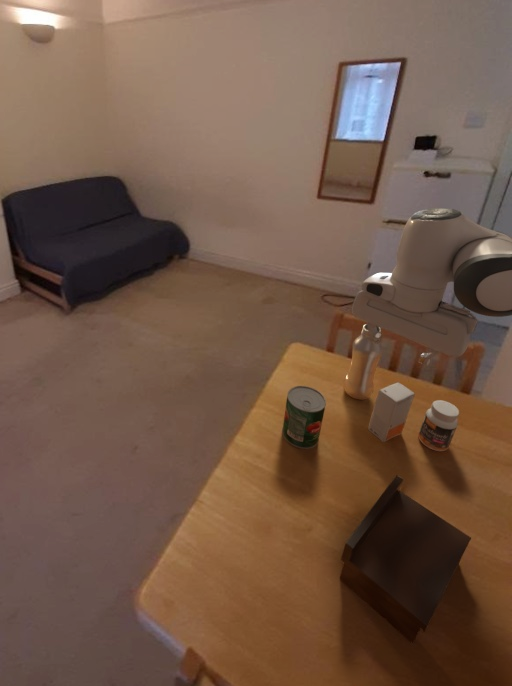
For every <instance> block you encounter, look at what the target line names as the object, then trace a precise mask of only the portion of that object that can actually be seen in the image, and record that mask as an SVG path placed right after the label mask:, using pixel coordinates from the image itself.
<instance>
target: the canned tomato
mask: <svg viewBox="0 0 512 686" xmlns="http://www.w3.org/2000/svg"><path fill="white" fill-rule="evenodd" d="M326 405H327V400H326V398H325V396H324V395H323V394H322V393H321V392H320V391H319V390H317V389H315V388H313V387H311V386H306V385H296V386H293V387H291V388H290V389H289V390H288V391H287V393H286V402H285V410H284V417H283V423H282V429H281V432H282V433H281V434H282V436H283V438H284V440H285V441H286V442H287V443H288V444H290V445H291V446H293V447H295V448H298V449H302V450H303V449H304V450H306V449H308V450H309V449H312V448H314V447H316V446H317V445H318V443H319V440H320V434H321V429H322V425H323V420H324V414H325V410H326Z"/></svg>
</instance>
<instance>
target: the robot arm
mask: <svg viewBox="0 0 512 686" xmlns="http://www.w3.org/2000/svg"><path fill="white" fill-rule="evenodd" d="M450 282H453V293H454V296H455V298H456V300H457V301H458V302H459V303H460V304H461V306H463V307H464V308H463V307H459V306H456V305H454V304H451V303H448V302H446V301H443V300H444V296H445V292H446V288H447V286H448V284H449V283H450ZM360 288H361V290H359V291H358V292H357V293H356V295H355V297H354V300H353V303H352V306H351V313H352V315H353V317H354V318H355V319H358V320H361V321H362V322H365V323H366V324H367V327H368V330H369V332H370V335H371V337H370V341H371V342H373V343H375V344H378V343H379V342H380V341H381V338H382V336H383V334H381V333H380V334H379V333H378V331H377V328H376V326H377V327H379V328H380V329H381V330H385V331H387V332H390V333H392V334H395V335H397V336H400V337H402V338H404V339H407V340H409V341H412V342H415V343H417V344H419V345H421V346H424V347H426V348H429V349H428V353H426V352H422V353H421V354H420V355H419V359H418V361H417V362H418V363H419V364H421V365H423V366H426V367H427V366H428V365H429V364H430V363H431V359H433V358H434V357H436V356H437V355H439V353H441V354H443V355H446V356H447V357H448V356H449V357H450V358H454V359H455V358H458V357H462V355H464V353H466V351H467V349H468V347H469V343H470V339H471V334H473V333H474V332H475V331H476V328H477V325H478V319H477V317H476V316H475V315H474V314H473V313H475V314H478V315H481V316H486V317H494V318H498V317H499V318H500V317H502V318H503V317H510V316H512V236H510V235H508V234H507V233H504V232H502V231H498V230H493V229H491V228H488V227H485V226H482V225H480V224H478V223H476V222H474V221H473V220H471V219H470V218H469V217H467V216H466V215H465V214H464V213H463V212H462V211H460V210H459V209H455V208H447V207H432V208H426V209H425V208H424V209H423V210H419V211H416V212H414V214H412V215H411V216H410V217H409V218H408V220H407V221H406V223H405V225H404V228H403V229H402V233H401V236H400V239H399V243H398V247H397V251H396V264H395V267H394V268H393V269H392V271H391V272H377V273H375V274H373V275H370V276H369V277H367V278H366V279H365V280H363V281H362V283H361V285H360ZM471 312H473V313H471Z"/></svg>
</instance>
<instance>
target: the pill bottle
mask: <svg viewBox="0 0 512 686" xmlns="http://www.w3.org/2000/svg"><path fill="white" fill-rule="evenodd" d="M459 415H460V410H459V408H457V406H455V405H454V403H452V402H449V401H448V400H447V401H446V400H442V399H436V400H434V401H433V402H432V403H431V405H430V408H428V409H427V410H426V412H425V413H424V417H423V421H422V422H421V425H420V429H419V431H418V440H419V441H420V442H421V443H422V445H424V446H425V447H427V448H428V449H430V450H432V451H436V452H445V451H447V450H448V449H449V448H450V445H451V443H452V440H453V438H454V435H455V433H456V430H457V428H458V425H459V421H458V418H459Z"/></svg>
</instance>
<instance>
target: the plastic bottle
mask: <svg viewBox="0 0 512 686" xmlns="http://www.w3.org/2000/svg"><path fill="white" fill-rule="evenodd" d="M367 324H368V323H366V324H363V326H362V330H361V334H360V335H359V336H357V337H356V338H355V339H354V341H353V342H352V350H351V351H352V353H351V361H350V366H349V368H348V371H347V374H346V376H345V378H344V380H343V390H344V391H345V393H346V395H347V396H349V397H350V398H353V399H356V400H361V401H363V400H366V399H369V398H370V397H371V396H372V394H373V392H374V385H375V384H374V380H375V374H376V370H377V367H378V365H379V362H380V360H381V358H382V356H383V354H384V351H385V350H384V345H383V343H382V341H381V340H380V342H379V343H378V344H375V343H373V342H371V341H370V337H371V335H370V332H369V330H368V327H367ZM376 328H377V331H378V333H379V334H381V333H382V328H380V327H377V326H376Z"/></svg>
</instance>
